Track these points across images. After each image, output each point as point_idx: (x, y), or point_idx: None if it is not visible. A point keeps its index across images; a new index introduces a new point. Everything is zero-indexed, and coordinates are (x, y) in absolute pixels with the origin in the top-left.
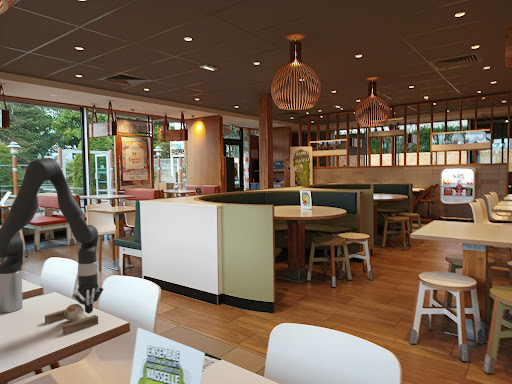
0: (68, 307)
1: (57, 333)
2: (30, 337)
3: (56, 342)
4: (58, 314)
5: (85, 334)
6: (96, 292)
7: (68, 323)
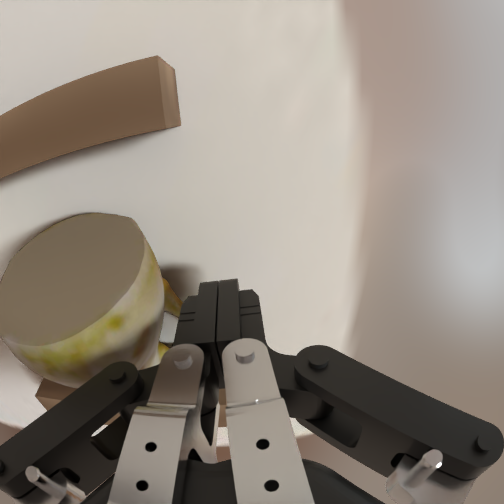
0: (4, 341)
1: None
2: None
3: (43, 406)
4: None
5: None
6: (393, 447)
7: (57, 400)
